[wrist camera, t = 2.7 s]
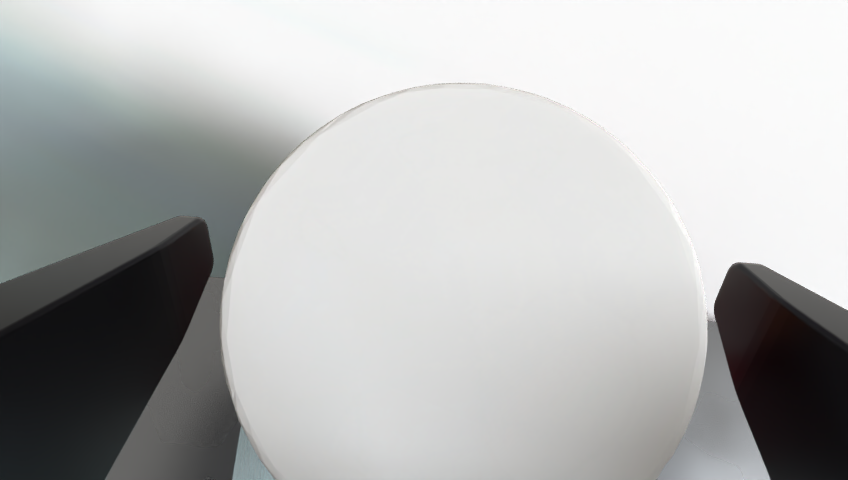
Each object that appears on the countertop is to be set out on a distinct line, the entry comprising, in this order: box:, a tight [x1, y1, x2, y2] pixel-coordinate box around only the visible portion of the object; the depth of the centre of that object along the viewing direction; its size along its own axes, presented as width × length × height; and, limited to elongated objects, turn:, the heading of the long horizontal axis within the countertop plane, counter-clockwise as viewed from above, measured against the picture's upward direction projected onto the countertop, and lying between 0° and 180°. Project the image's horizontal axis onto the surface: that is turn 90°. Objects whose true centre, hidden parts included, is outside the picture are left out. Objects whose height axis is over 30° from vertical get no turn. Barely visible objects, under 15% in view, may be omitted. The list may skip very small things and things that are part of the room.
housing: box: [105, 277, 770, 480], centre depth 13 cm, size 7×21×4 cm, turn 85°
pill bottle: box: [220, 83, 708, 480], centre depth 10 cm, size 6×6×11 cm
